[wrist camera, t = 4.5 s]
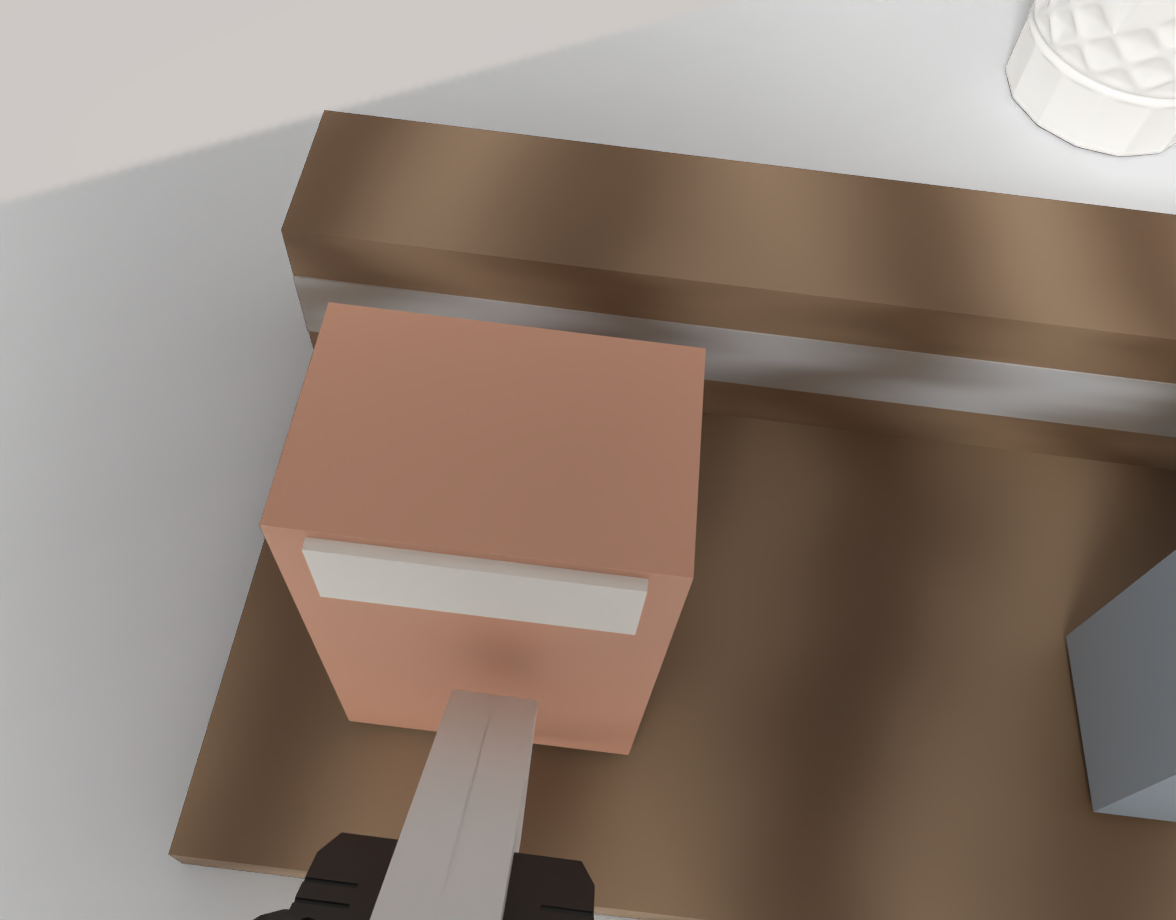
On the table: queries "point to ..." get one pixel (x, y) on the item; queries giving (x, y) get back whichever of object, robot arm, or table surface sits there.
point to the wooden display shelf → (776, 528)
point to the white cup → (1099, 73)
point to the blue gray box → (1130, 697)
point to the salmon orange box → (490, 517)
